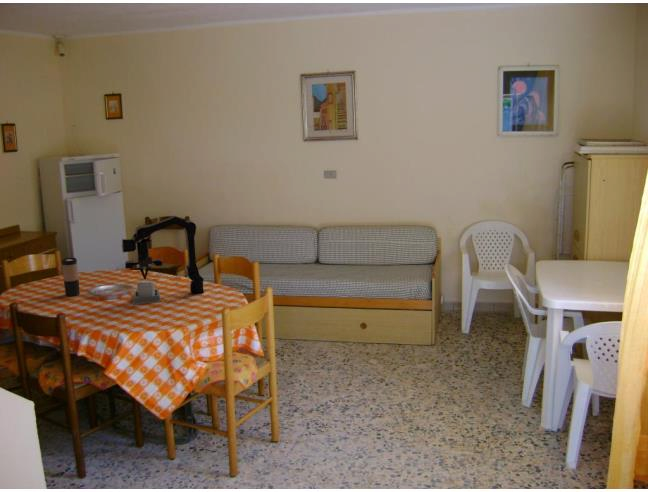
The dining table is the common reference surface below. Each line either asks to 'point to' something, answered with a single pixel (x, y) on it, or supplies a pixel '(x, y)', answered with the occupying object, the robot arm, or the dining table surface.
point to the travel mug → (70, 276)
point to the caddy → (146, 298)
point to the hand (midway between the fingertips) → (145, 279)
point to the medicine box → (146, 288)
